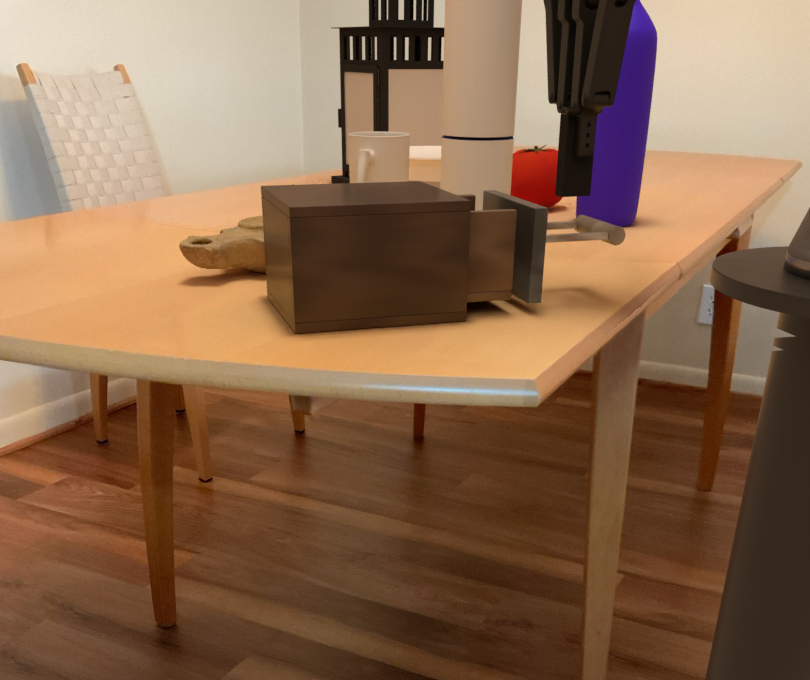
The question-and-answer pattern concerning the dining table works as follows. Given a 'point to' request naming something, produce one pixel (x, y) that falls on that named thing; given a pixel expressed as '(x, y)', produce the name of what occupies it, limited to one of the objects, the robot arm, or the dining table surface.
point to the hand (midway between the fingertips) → (572, 195)
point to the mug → (379, 157)
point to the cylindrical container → (479, 95)
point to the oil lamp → (229, 247)
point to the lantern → (391, 77)
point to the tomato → (535, 176)
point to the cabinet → (365, 254)
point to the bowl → (425, 164)
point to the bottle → (624, 130)
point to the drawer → (519, 246)
